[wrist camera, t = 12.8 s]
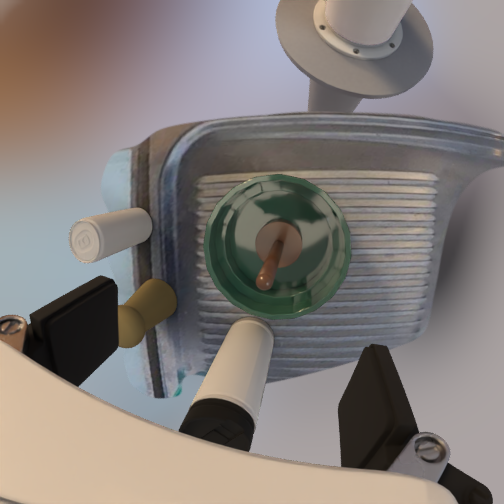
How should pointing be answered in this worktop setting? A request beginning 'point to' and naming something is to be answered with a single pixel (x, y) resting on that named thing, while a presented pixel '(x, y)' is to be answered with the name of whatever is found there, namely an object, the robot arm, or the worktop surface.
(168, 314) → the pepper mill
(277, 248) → the brown rod with base
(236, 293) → the bowl
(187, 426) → the travel mug
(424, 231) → the worktop surface
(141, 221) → the beverage can
